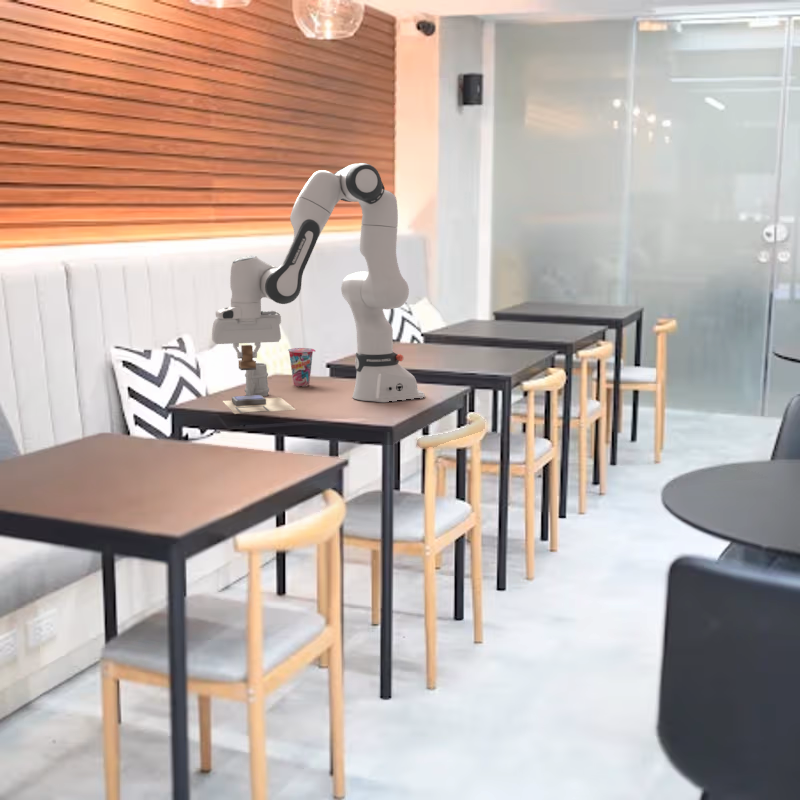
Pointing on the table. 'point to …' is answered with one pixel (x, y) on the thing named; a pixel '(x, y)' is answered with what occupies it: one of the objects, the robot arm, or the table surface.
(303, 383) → the cup
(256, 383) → the mug
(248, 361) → the stamp
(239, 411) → the board
